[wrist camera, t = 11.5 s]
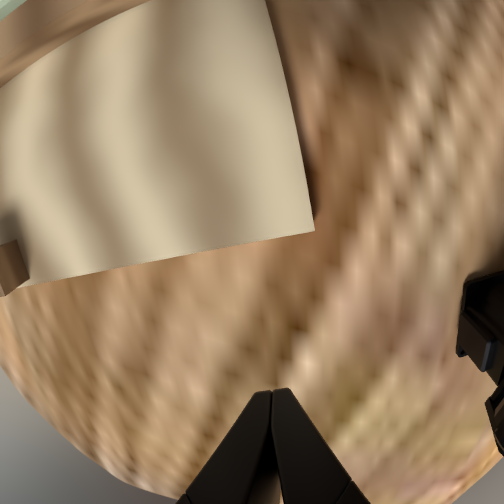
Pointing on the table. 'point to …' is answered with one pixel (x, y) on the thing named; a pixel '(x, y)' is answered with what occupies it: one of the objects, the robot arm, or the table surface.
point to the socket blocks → (9, 7)
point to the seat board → (148, 143)
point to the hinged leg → (49, 28)
